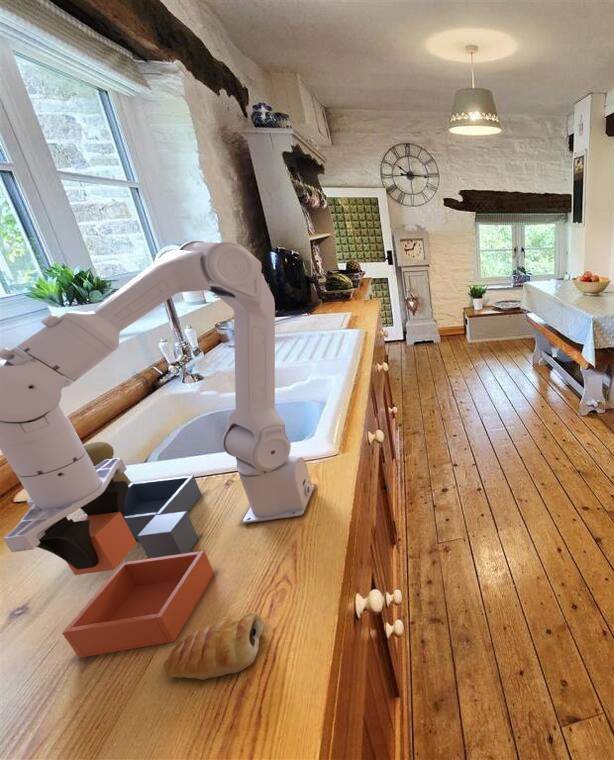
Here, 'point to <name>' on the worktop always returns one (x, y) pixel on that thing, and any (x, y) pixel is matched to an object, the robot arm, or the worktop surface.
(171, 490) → the slate bin
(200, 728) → the worktop surface
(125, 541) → the terracotta block
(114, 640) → the terracotta bin
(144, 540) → the slate block
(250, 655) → the pastry
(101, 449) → the cork
